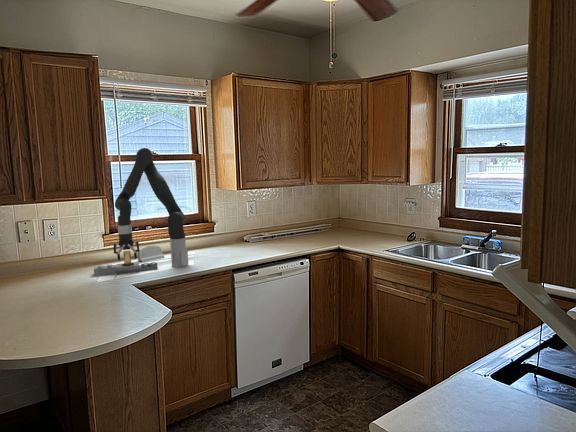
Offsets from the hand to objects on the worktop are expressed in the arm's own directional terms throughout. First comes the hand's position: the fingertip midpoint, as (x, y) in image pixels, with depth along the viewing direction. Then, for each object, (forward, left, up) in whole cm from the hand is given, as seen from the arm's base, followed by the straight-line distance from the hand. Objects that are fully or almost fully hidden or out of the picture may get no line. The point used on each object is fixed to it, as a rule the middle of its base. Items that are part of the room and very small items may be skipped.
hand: (127, 259), depth 257 cm
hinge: (+10, -29, -8) cm, 32 cm away
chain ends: (0, 0, -7) cm, 7 cm away
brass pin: (0, 0, -7) cm, 7 cm away
